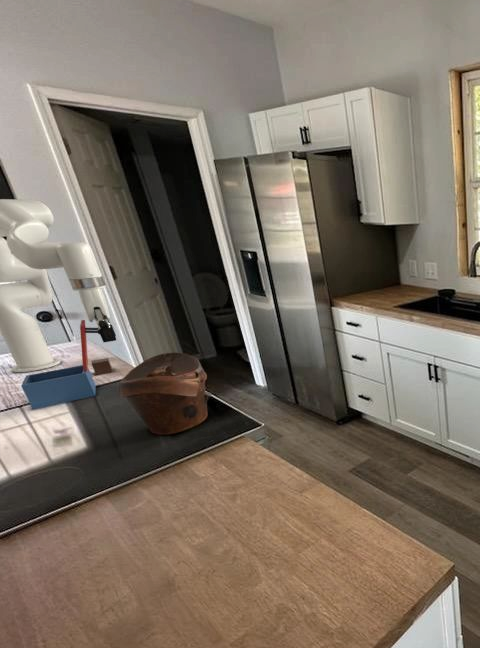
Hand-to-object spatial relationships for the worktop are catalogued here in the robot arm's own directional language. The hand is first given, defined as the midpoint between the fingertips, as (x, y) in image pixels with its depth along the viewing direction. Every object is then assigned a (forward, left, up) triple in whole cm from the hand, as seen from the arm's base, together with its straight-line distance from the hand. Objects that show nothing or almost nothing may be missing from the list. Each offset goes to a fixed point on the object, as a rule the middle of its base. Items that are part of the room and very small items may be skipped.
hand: (109, 338), depth 134 cm
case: (+50, +9, -16) cm, 53 cm away
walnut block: (-22, -6, -16) cm, 28 cm away
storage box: (0, -15, -16) cm, 22 cm away
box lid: (0, -7, -1) cm, 7 cm away
